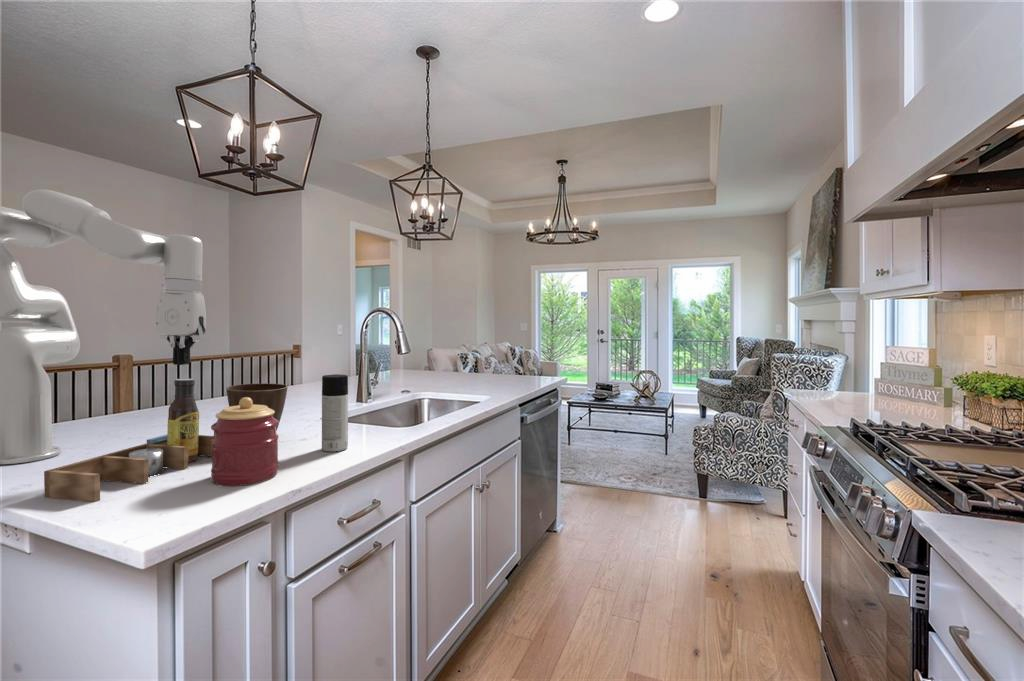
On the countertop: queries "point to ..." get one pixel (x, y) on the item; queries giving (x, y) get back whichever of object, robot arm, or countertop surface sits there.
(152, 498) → the countertop surface
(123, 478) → the caddy
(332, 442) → the spray can
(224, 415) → the canister
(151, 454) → the tin
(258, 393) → the plant pot
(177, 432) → the sauce bottle
